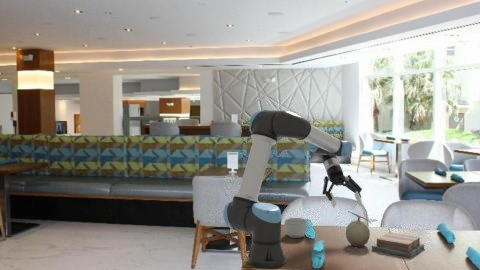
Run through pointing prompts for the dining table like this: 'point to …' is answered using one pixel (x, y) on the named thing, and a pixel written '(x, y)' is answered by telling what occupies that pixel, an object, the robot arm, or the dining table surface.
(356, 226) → the fruit
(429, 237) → the dining table surface
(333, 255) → the dining table surface
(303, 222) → the teacup
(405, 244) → the stand
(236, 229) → the robot arm
